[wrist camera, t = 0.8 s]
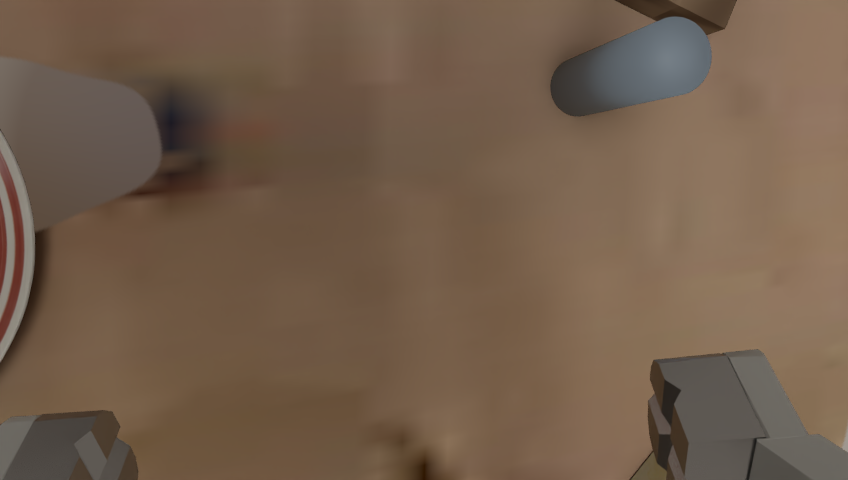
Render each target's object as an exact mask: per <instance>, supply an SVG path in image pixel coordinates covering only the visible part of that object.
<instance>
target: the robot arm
mask: <svg viewBox="0 0 848 480" xmlns="http://www.w3.org/2000/svg"><path fill="white" fill-rule="evenodd" d="M650 381H651V384H652V387H653V390H654V392H655V394H654V395H653V396H652V397H651V398H650V399H649V400H648V425H649V435H650V440H651V444H652V449H653V452H654V455H655V458H656V462H657V464H658V465H660V466H661V467H662V468H663V469H665V470H666V471H667V475H666V480H848V452H846V451H845V450H843V449H842V448H840V447H839V446H837V445H835V444H834V443H832V442H831V441H829V440H828V439H826V438H825V437H823V436H821V435H820V434H814V435H808V433H807V431H806V429H805V427H804V426H803V424H802V422H801V420H800V418H799V416H798V415H797V413H796V411H795V409H794V407H793V406H792V404H791V402H790V400H789V398H788V396H787V395H786V393H785V391H784V389H783V387H782V386H781V384H780V382H779V380H778V378H777V376H776V375H775V373H774V371H773V369H772V367H771V366H770V364H769V362H768V360H767V358H766V357H765V355H764V353H762V352H761V351H760V350H758V349H756V350H746V351H736V352H726V353H723V354H720V353H717V354H707V355H697V356H687V357H677V358H667V359H657V360H653V363H652V365H651V372H650ZM119 429H120V424H119V423H118V421H117V419H116V417H115V416H114V414H113V412H112V411H106V410H100V411H84V412H69V413H54V414H42V415H33V416H17V417H10V418H9V419H7V420H6V421H5V422H3V423H2V424H1V425H0V480H138V467H137V462H136V457H135V455H134V453H133V451H132V449H131V446H129V445H128V444H126V443H125V442H123V441H121V440H120V439H118V438H117V434H118V432H119Z"/></svg>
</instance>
